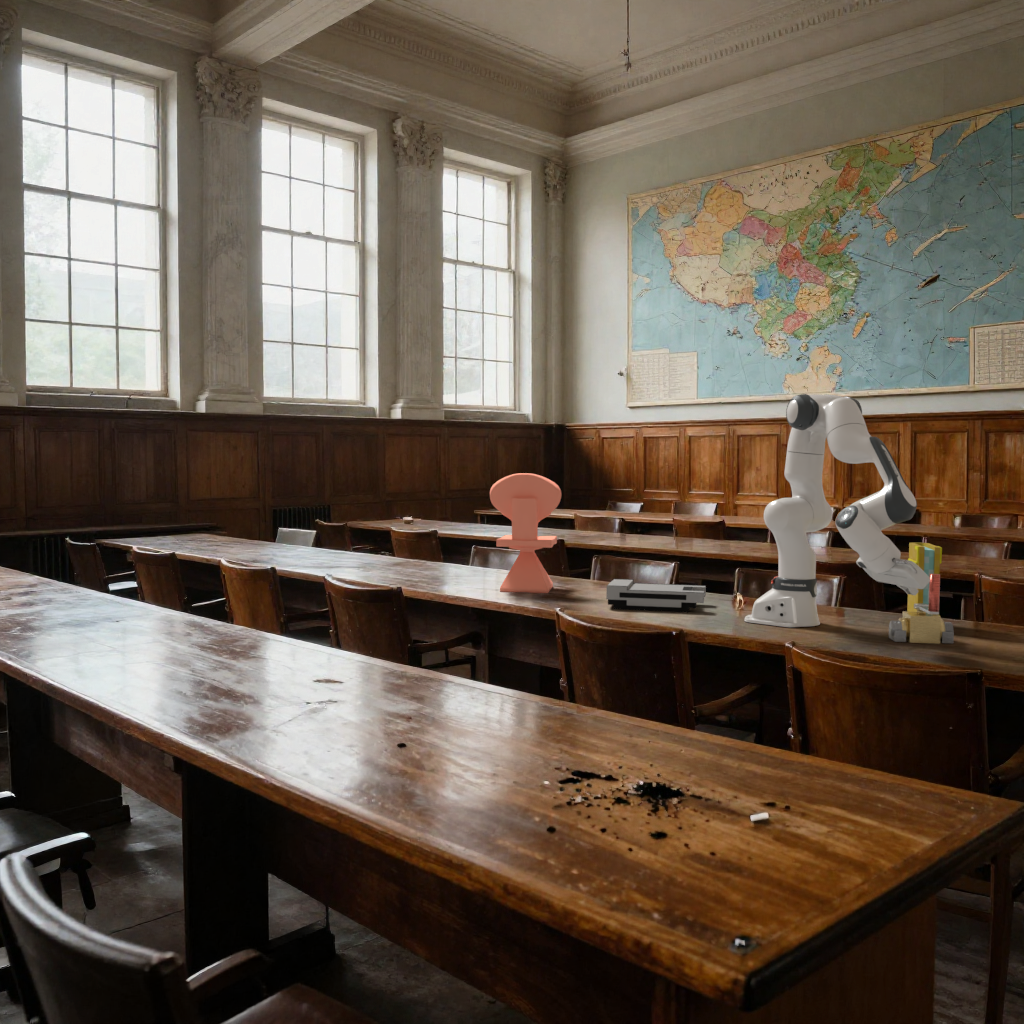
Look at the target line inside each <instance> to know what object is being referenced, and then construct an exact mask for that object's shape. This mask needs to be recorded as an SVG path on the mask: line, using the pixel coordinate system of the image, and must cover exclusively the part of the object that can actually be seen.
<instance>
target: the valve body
mask: <svg viewBox="0 0 1024 1024" xmlns="http://www.w3.org/2000/svg"><path fill="white" fill-rule="evenodd" d="M939 615H940V614H938V615H937V614H928V613H926V612H924V611H922V610H920V609H917V612H908V611H907V610H905V611H904V610H903V611H902V617H899V618H898V620H890V621H889V625H888V639H890V640H891V641H892V642H896V643H897V642H899V643H901V642H902V643H906V642H908V643H911V644H912V643H913V644H938V645H940V644H954V640H955V636H954V635H955V633H954V632H955V631H954V624H953V622H951V621H944V619H943V618H942V617H941V615H940V616H939Z"/></svg>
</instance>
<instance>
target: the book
mask: <svg viewBox="0 0 1024 1024" xmlns="http://www.w3.org/2000/svg"><path fill="white" fill-rule="evenodd" d="M908 547H909V548H908V558H907V560H909V561H912V562H914V563H915V564H917V565H918V566H919V567H920V568H921V569H922V570H923V571H924V572H925V573H926V574H927V575H928V576H929V577H930V574H940V567H941V566H940V565H941V564H942V563H943V562H942V559H943V558H942V556H943V555H942V553H943V547H941V546H939V545H934V544H932V543H929V542H909V544H908ZM915 603H923V604H929V583H928V584H927V585H926V587H925V588H924V589H918V593H917V594H916V595H911V594H907V607H906V608H907V610H906V611H908V612H917V609H914V604H915ZM937 615H939V616H941V615H940V614H937Z"/></svg>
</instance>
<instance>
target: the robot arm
mask: <svg viewBox="0 0 1024 1024" xmlns="http://www.w3.org/2000/svg"><path fill="white" fill-rule="evenodd" d="M785 417H786V422H787V423H788V425H789V426H790V427H791V429H790V432H789V436H788V439H787V440H788V441H787V447H786V455H785V456H786V457H785V462H784V463H785V465H784V478H785V480H786V481H787V482H788V483H789V485H790V490H791V497H781V498H778V499H775V500H773V501H770V502H769V503H768V504H767V505H766V506H765V507H764V510H763V521H764V524H765V526H766V527H767V528H768V529H769V530H770V532H771V533H772V535H773V537H774V540H775V543H776V547H777V553H778V554H777V556H778V560H777V561H778V567H777V568H778V569H777V570H778V573H777V574H778V575H777V576H774V577H773V578H772V579H771V580H770V585H771V588H770V589H769V590H768V591H766V592H765V593H764V594H762V595H761V596H760V597H758V598H757V599H756V600H755V601H754V603H753V606H752V609H751V614H747V615H745V617H744V622H746V623H752V624H760V625H767V626H775V627H776V626H777V627H784V628H800V627H804V628H805V627H815V626H819V625H820V624H821V622H820V618H819V614H818V608H817V598H816V597H817V596H818V579H817V577H816V576H817V575H816V574H817V571H816V570H817V554H816V551H815V550H814V549H813V548H812V547H811V545H810V544H809V539H808V535H807V533H815V532H818V531H820V530H823V529H825V528H827V527H829V525H830V524H831V522H832V519H833V509H832V507H831V505H830V503H829V502H828V501H827V499H826V496H825V491H824V487H823V486H824V485H823V472H824V471H823V469H824V460H825V454H826V442H827V445H828V449H829V452H830V453H831V455H832V456H833V457H834V458H835V459H837V460H838V461H840V462H842V463H846V464H851V465H852V464H855V465H856V464H865V463H867V464H869V463H873V464H874V465H875V467H876V469H877V472H878V474H879V475H880V477H881V479H882V481H883V487H882V488H881V490H878V491H876V492H874V493H872V494H869V495H868V496H865V497H863V498H861V499H858V500H855V502H852V503H851V504H849V505H847V506H846V507H845V508H842V510H841V511H840V512H839V513H838V514H837V516H836V518H835V526H836V529H837V530H838V532H839V534H840V535H841V537H842V539H844V541H845V542H846V544H847V545H848V547H850V549H852V550H853V551H855V552H856V553H857V554H858V555H859V557H858V558H857V560H856V561H855V563H856V565H857V566H858V567H859V568H862V569H863V570H864V572H865V573H867V575H868V576H869V577H870V578H872V579H873V580H875V581H876V582H878V583H884V584H891V585H894V586H895V585H896V586H897V587H898V588H900V589H901V590H903V591H904V593H906V594H907V595H908V594H911V595H916V594H917V593H918V589H924V588H925V587H926V585H927V584H928V583H929V582H930V578H929V576H928V575H927V574H926V573H925V572H924V571H923V570H922V569H921V568H920V567H919V566H918V565H917V564H915V563H914V562H912V561H909V560H908V559H902V558H901V556H902V555H901V554H902V553H901V550H900V549H899V548H898V547H897V546H896V545H895V543H894V542H893V541H892V539H890V538H889V537H888V536H886V535H885V534H884V533H883V532H882V531H883V530H885V529H887V528H890V527H893V526H894V525H897V524H901V523H903V522H906V521H910V520H911V519H912V518H913V517H914V515H915V514H916V510H917V507H918V502H917V499H916V497H915V496H914V493H913V491H911V489H910V487H909V486H908V485H907V483H906V482H905V479H904V478H903V476H902V474H901V471H900V469H899V468H898V465H897V464H896V462H895V460H894V458H893V456H892V454H891V451H889V449H888V447H887V445H886V444H885V443H884V442H883V441H882V440H881V439H880V438H879V437H877V436H872V435H871V434H870V433H869V430H868V427H867V424H866V421H865V418H864V416H863V409H862V406H861V403H860V401H858V400H857V399H855V398H854V397H850V396H847V395H846V396H841V395H838V394H837V395H835V394H827V393H826V394H807V393H803V394H796V395H795V396H793V397H791V399H790V400H789V402H788V403H787V405H786V410H785Z"/></svg>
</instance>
